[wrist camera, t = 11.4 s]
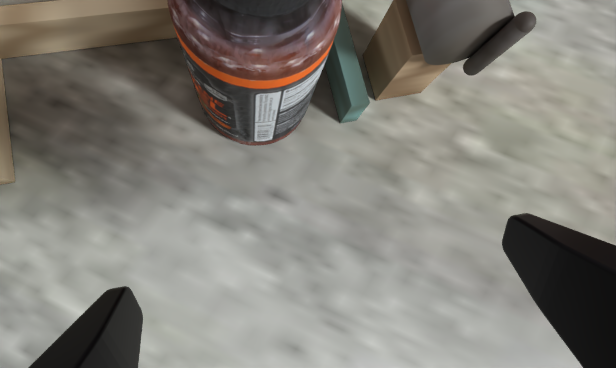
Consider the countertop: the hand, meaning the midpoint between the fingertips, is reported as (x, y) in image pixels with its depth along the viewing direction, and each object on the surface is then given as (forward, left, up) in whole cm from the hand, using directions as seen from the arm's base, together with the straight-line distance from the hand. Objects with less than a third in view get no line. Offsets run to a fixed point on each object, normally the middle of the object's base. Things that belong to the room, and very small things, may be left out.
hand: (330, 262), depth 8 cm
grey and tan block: (+13, +2, -11) cm, 17 cm away
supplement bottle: (+6, +7, -11) cm, 14 cm away
